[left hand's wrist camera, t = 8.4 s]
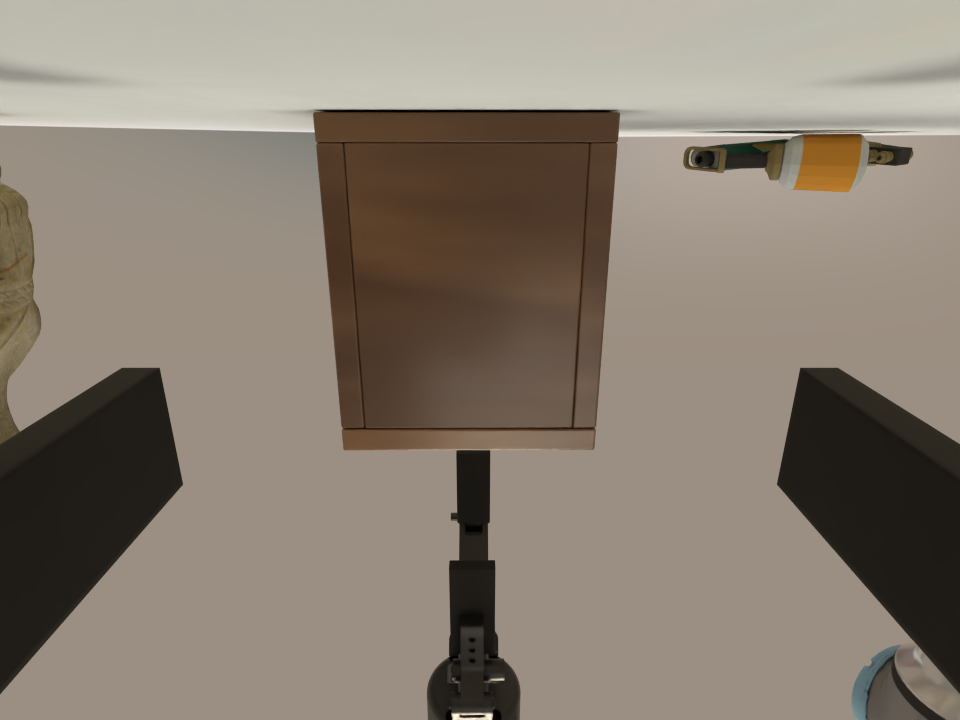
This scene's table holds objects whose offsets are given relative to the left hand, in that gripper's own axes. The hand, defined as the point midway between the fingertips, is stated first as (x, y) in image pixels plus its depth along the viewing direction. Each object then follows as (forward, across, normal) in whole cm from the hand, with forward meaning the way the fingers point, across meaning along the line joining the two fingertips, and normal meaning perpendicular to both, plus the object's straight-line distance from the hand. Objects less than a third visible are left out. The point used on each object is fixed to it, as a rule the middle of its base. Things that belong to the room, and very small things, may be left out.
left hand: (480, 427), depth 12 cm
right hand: (+24, 0, +18) cm, 30 cm away
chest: (+17, 0, -6) cm, 18 cm away
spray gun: (+43, -28, -6) cm, 52 cm away
